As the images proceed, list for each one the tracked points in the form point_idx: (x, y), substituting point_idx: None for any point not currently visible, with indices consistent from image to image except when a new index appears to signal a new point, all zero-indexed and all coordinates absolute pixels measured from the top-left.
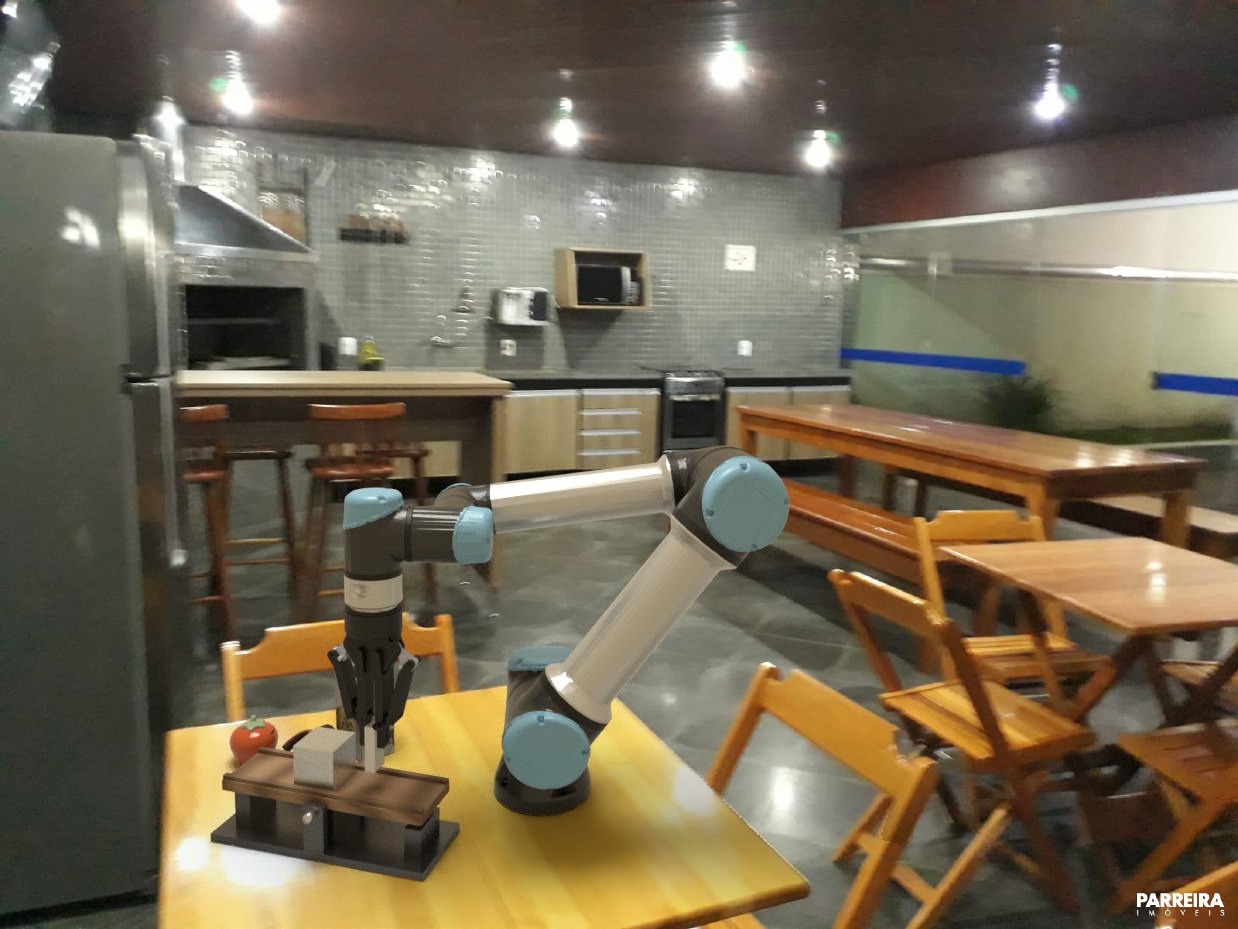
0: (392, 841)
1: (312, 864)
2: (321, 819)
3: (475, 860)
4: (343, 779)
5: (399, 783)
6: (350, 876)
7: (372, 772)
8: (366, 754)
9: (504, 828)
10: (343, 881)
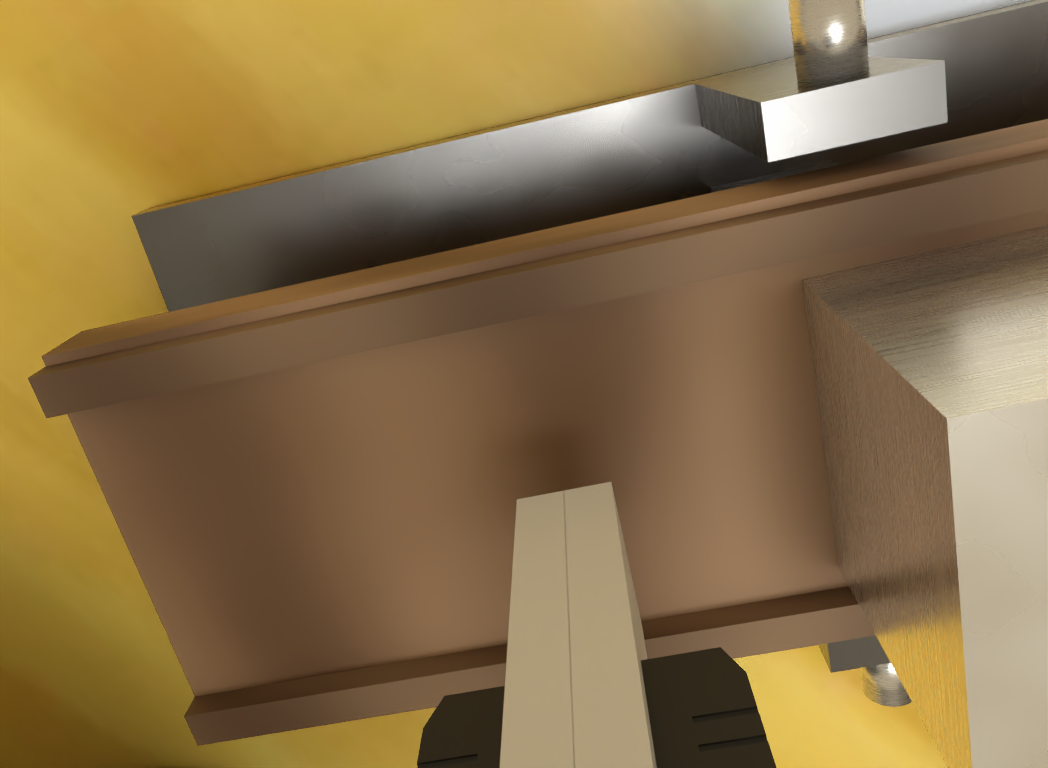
0: None
1: (736, 44)
2: (752, 94)
3: (80, 445)
4: (828, 429)
5: (462, 586)
6: (487, 65)
7: (538, 496)
8: (605, 581)
9: (146, 669)
10: (489, 12)
